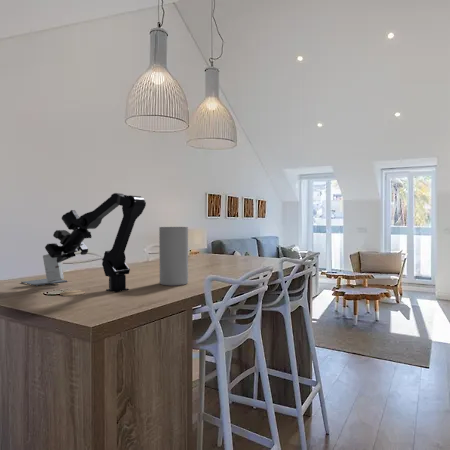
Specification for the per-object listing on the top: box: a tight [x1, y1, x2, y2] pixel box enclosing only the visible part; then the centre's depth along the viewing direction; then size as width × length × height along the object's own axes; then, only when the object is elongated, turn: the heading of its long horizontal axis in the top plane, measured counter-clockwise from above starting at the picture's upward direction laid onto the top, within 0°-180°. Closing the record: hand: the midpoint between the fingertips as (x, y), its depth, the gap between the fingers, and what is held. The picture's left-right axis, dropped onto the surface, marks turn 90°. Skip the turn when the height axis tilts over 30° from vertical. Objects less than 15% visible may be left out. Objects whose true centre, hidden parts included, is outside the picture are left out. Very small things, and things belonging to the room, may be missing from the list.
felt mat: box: [22, 277, 68, 287], centre depth 168 cm, size 14×14×1 cm
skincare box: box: [42, 253, 65, 282], centre depth 164 cm, size 6×4×12 cm
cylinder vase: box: [158, 226, 189, 287], centre depth 164 cm, size 12×12×25 cm
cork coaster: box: [59, 290, 86, 297], centre depth 142 cm, size 9×9×1 cm
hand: (57, 261), depth 162 cm, fingers closed
